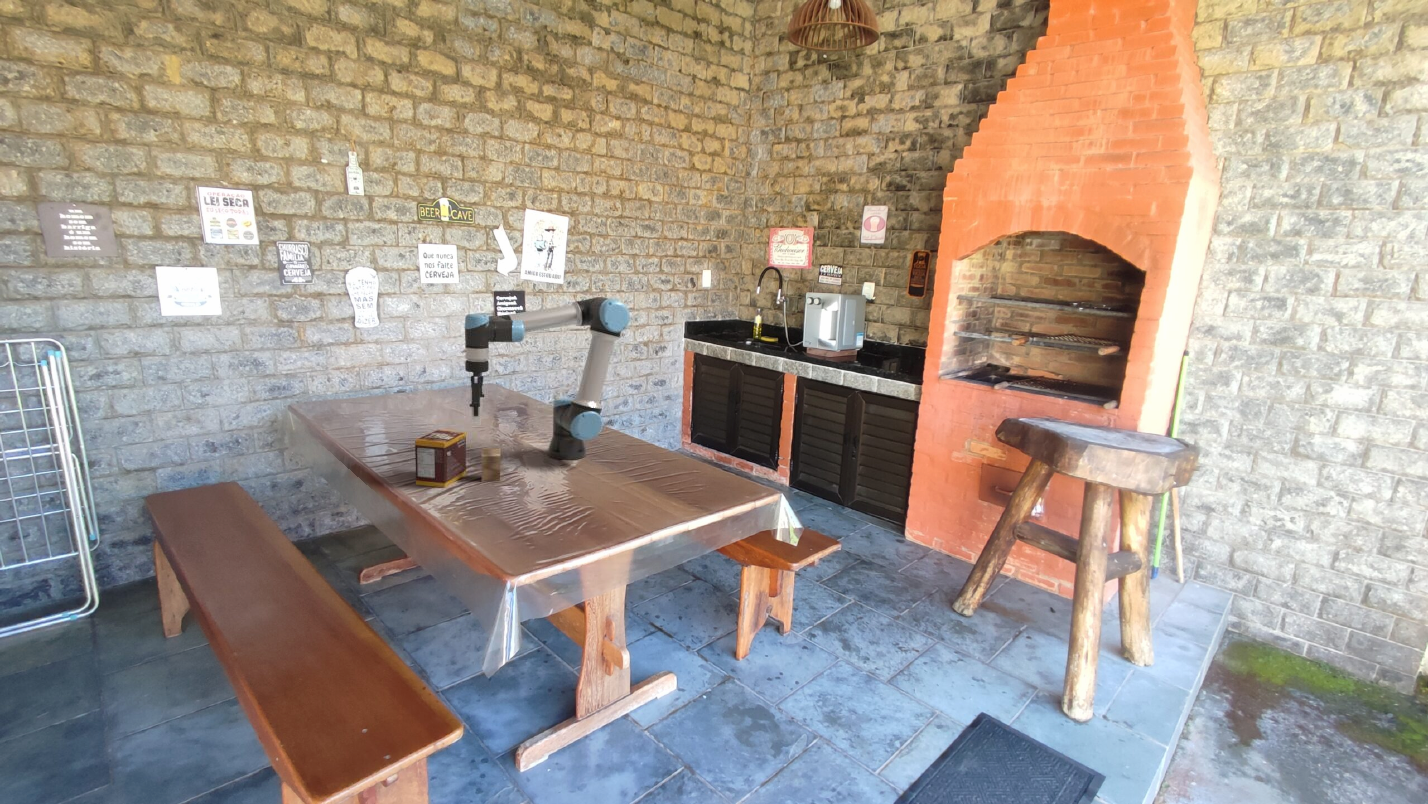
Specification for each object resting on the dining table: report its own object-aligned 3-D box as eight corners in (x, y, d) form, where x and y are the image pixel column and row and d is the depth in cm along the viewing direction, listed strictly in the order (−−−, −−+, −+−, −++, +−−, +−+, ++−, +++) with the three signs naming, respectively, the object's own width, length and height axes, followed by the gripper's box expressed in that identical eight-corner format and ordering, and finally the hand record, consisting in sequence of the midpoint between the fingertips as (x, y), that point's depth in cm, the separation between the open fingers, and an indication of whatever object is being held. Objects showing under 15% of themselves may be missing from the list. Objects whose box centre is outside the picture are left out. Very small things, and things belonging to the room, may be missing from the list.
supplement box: (466, 474, 232) (466, 431, 229) (445, 488, 217) (444, 442, 214) (438, 471, 233) (438, 428, 230) (415, 485, 218) (414, 439, 215)
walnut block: (500, 475, 233) (500, 448, 231) (500, 481, 227) (500, 453, 225) (481, 476, 231) (481, 449, 229) (481, 481, 226) (481, 454, 224)
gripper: (467, 354, 233) (468, 412, 237) (462, 365, 210) (462, 429, 214) (490, 354, 235) (490, 412, 239) (487, 366, 212) (487, 429, 216)
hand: (477, 420), depth 227 cm, fingers open, 13 cm apart
